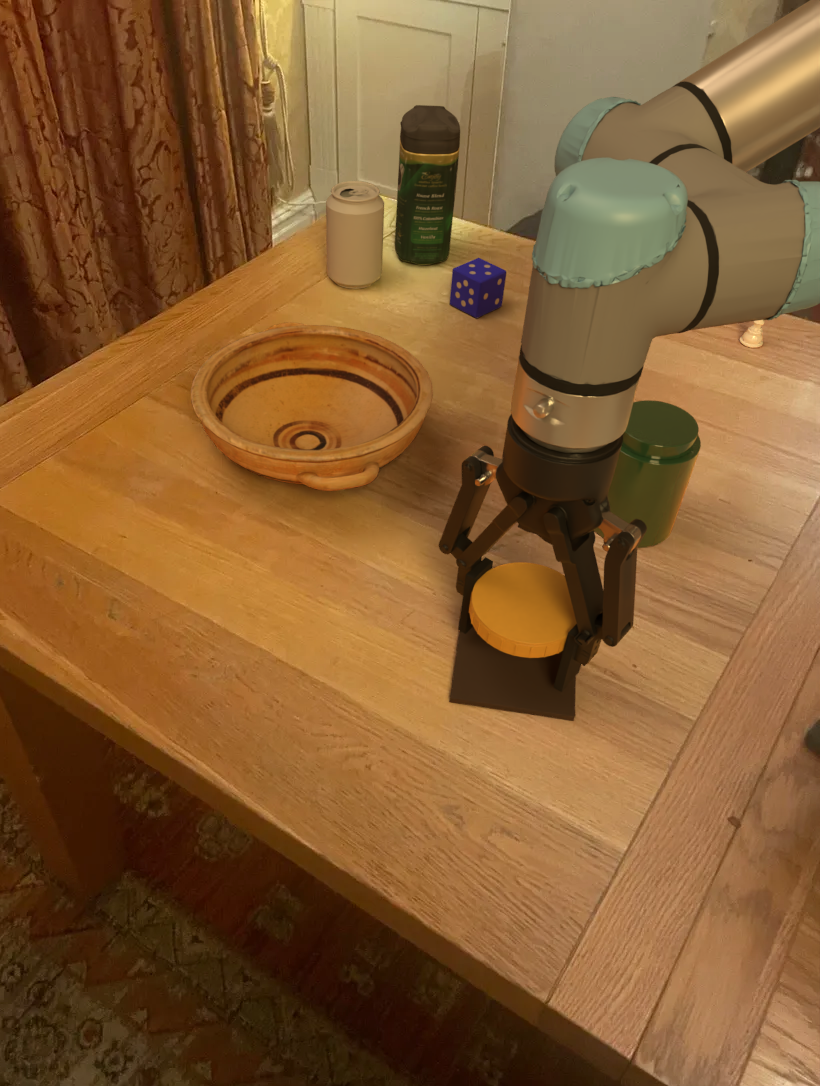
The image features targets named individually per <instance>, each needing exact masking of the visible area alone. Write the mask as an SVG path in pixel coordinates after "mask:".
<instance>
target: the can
mask: <svg viewBox="0 0 820 1086" xmlns="http://www.w3.org/2000/svg"><path fill="white" fill-rule="evenodd" d="M330 193H331V194H330V195H328V197H327V199H326V201H325V227H326V228H325V231H326V233H325V236H326V239H325V241H326V243H325V244H326V274H327V277H328V278H330V279H331V281H333V282H334V284H336V285H337V286H339V287H341V288H346V289H354V290H355V289H356V290H357V289H364V288H368V287H370V286H372V285H374V284H375V282H377V281H378V280H379V279H380V278H381V277H382V273H383V256H384V255H383V253H384V252H383V251H384V222H385V201H384V199H383V197H382V196H381V195H380V193H381V191H380V189H379V187H378V186H376V185H375V184H373V183H371V182H366V181H361V180H347V181H341V182H339V183H336V184H335V185H333V186H332V187H331V188H330Z"/></svg>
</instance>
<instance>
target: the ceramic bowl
mask: <svg viewBox="0 0 820 1086" xmlns="http://www.w3.org/2000/svg"><path fill="white" fill-rule="evenodd" d="M433 390H434V389H433V382H432V379H431V378H430V375H429V371H427V370H426V368H425V366H424V365H423V364H422V362H420V360H419V359H417V358H416V357H415V356H414V354H412V353H411V352H410V351H408V350H407V349H405V348H404V347H402V346H401V345H399V344H397V343H396V342H393V341H391V340H389V339H386V338H384V337H383V336H380V335H376V334H373V333H371V332H366V331H364V330H360V329H355V328H351V327H350V328H349V327H345V326H344V327H343V326H335V325H325V324H324V325H317V324H304V323H302V322H301V323H300V322H293V321H292V322H291V321H290V322H289V321H288V322H287V321H286V322H285V321H284V322H281V323H276V324H274V325H271V326H269V327H267V328H266V329H265V330H263V331H258V332H256V333H252V334H249V335H246V336H244V337H241V338H238V339H236V340H234V341H233V342H230V343H228V344H227V345H224V346H223V347H221V348H220V349H218V350H217V351H216V352H214V353H213V354H212V355H211V356H209V357H208V358H207V359H206V361H205V362H203V363H202V365H201V366H200V367H199V369H198V371H197V372H196V374H195V376H194V378H193V380H192V384H191V388H190V400H191V404H192V407H193V409H194V412H195V414H196V417H197V418H198V419H199V420H200V421H199V422H200V423H201V425H202V427H203V430H204V431H205V433H206V435H207V436H208V438H209V439H210V440H211V441H212V443H213V444H214V445H215V446H216V448H217V449H218V451H220V453H222V454H223V455H224V456H226V457H227V458H228V459H229V460H231V462H233V463H235V464H237V465H238V466H240V467H241V468H243V469H245V470H247V471H249V472H251V473H253V474H255V475H258V476H260V477H264V478H266V479H270V480H274V481H279V482H282V483H288V484H298V485H305V486H307V487H309V488H310V489H314V490H317V491H318V490H319V491H326V492H333V491H341V490H347V489H355V488H361V487H363V486H366V485H369V484H371V483H372V482H373V481H375V480H376V479H377V477H378V476H379V472H380V469H381V468H383V467H385V466H387V465H388V464H390V463H391V462H392V461H393V460H395V459H396V458H398V457H399V456H400V455H401V454H403V452H404V451H405V450H406V449H407V448H408V447H409V446H410V445H411V444H412V442H413V441H414V440H415V438H416V437H417V435H418V433H419V432H420V429H421V428H422V425H423V423H424V421H425V419H426V416H427V414H428V412H429V411H430V408H431V406H432V401H433V397H434V391H433Z"/></svg>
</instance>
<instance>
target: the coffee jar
mask: <svg viewBox="0 0 820 1086" xmlns="http://www.w3.org/2000/svg"><path fill="white" fill-rule="evenodd" d="M460 125H461V124H460V122H459V120H458V118H457V117H456V116H455V115H454V114H453V113H452V112H451V111H449V110H448V109H446V107H445V106H443V105H428V104H427V105H425V104H422V105H421V104H416V105H413V107H412V108H411V109H409V110H408V111H406V112H405V113H404V114H403V116H402V118H401V121H400V134H399V151H398V152H399V153H398V155H399V157H398V174H397V191H396V192H397V193H396V209H395V226H394V228H395V229H394V249H395V253H396V256H397V258H399V259H400V260H401V261H403V262H408V263H411V264H415V265H417V266H430V265H434V264H438V263H442V262H443V263H444V262H445V261H446V260H447V259H448V258H449V256H450V248H451V240H452V229H453V221H454V220H453V218H454V210H455V203H456V202H455V201H456V192H457V182H458V171H459V157H460V145H461V126H460Z"/></svg>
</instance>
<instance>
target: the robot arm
mask: <svg viewBox="0 0 820 1086" xmlns="http://www.w3.org/2000/svg"><path fill="white" fill-rule="evenodd" d="M818 129H820V0H808V1H807V2H805V3H803V4H802V5H800V6H799V7H797V8H795V9H794V10H792V11H790V12H789V13H787V14H786V15H784V16H782V17H781V18H779V19H778V20H776V21H774V22H773V23H771V24H770V25H768V26H767V27H765V28H764V29H762V30H760V31H759V32H757V33H755V34H754V35H752V36H751V37H749V38H747V39H746V40H744V41H742V42H741V43H739V44H738V45H736V46H734V47H733V48H731V49H730V50H728V51H727V52H725V53H723V54H722V55H720V56H718V57H717V58H716V59H714V60H712V61H711V62H709V63H707V64H705V65H704V66H703V67H701V68H699V69H698V70H696V71H695V72H693V73H691V74H690V75H688V76H687V77H685V78H684V79H682V80H680V81H679V82H677V83H676V84H674V85H673V86H671V87H669V88H667V89H666V90H664V91H662V92H660V93H658V94H657V95H656V96H654V97H652V98H650V99H649V100H647V101H646V102H644V103H642V104H641V103H640V102H638V101H637V100H633V99H631V98H624V97H619V96H609V97H603V98H597V99H595V100H593V101H591V102H589V103H588V104H586V105H585V106H583V107H582V108H581V109H580V110H579V111H577V112H576V114H575V115H574V116H573V117H572V118H571V119H570V120H569V122H568V123H567V125H566V126H565V128H564V129H563V131H562V134H561V135H560V138H559V140H558V143H557V146H556V150H555V155H554V165H553V166H554V173H555V177H554V179H552V181H551V183H550V186H549V188H548V191H547V194H546V197H545V200H544V201H545V202H544V205H543V208H542V210H541V215H540V220H539V225H538V230H537V235H536V239H535V242H534V244H533V247H532V251H531V261H532V263H531V265H532V267H531V273H530V280H529V285H528V287H529V288H528V294H527V300H526V307H525V314H524V318H523V319H524V320H523V326H522V333H521V339H520V343H521V344H520V349H519V355H518V357H517V365H516V371H515V377H514V384H513V390H512V396H511V403H510V415H509V417H508V420H507V424H506V431H505V437H504V443H503V448H502V449H503V450H502V456H501V458H500V457H496V456H495V453H494V451H493V449H492V448H491V447H490V446H488V445H482V446H481V447H479V448H478V449H477V450H475V451H474V452H473V453H472V454H471V455H469V456H468V457H467V458H465V459H464V460H463V461H462V462H461V464H460V465H461V466H460V469H461V471H460V472H461V485H460V488H459V491H458V493H457V496H456V499H455V501H454V502H453V503H454V504H453V506H452V509H451V511H450V513H449V516H448V519H447V521H446V524H445V526H444V529H443V532H442V533H441V537H440V540H439V542H438V549H439V551H440V552H441V553H442V554H444V555H452V556H453V557H454V558H455V563H456V566H457V575H456V583H455V589H456V593H458V594H459V595H461V596H462V600H461V607H460V613H459V614H460V615H459V621H458V629H457V630H458V632H459V631H461V632H463V633H464V634H466V633H467V632H468V631H469V630H470V629H471V628H472V627H473V624H471V619H470V613H469V606H470V599H471V592H472V591H473V588H474V585H475V583H476V582H477V580H478V579H480V578H481V577H482V576H483V575H484V574H485V573H486V572H487V571H489V570H490V569H492V568H493V564H494V561H493V560H492V559H490V558H488V557H486V556H485V555H486V554H487V553H488V552H489V551H490V550H491V549H492V548H493V547H494V546H495V545H496V544H497V543H498V542H499V541H500V540H501V539H502V538H503V537H504V536H505V535H507V533H508V532H509V531H510V530H511V529H512V528H513V527H514V526H515V525H516V524H518V525H517V528H519V529H521V530H523V531H525V532H527V533H530V534H535V535H536V536H537V537H539V538H540V539H542V540H543V541H544V542H545V543H548V544H550V545H551V546H552V550H553V554H554V557H555V561H556V562H558V563H560V564H561V567H562V570H563V575H564V576H565V579H566V583H567V587H568V591H569V595H570V599H571V603H572V607H573V611H574V615H575V619H576V622H577V624H576V625H575V626H574V627H573V628H572V629H571V630H570V631H569V632H568V635H567V639H566V643H565V646H564V650H563V654H562V657H561V661H560V665H559V669H558V672H557V676H556V680H555V683H554V688H555V689H557V690H559V691H560V692H562V691H563V690H564V689H565V688H566V687H567V685H568V684H569V683H570V682H571V681H572V680H573V679H574V678H575V676H576V677H577V675H578V674H579V673H580V671H581V668H582V666H586V665H588V664H589V663H590V662H591V661H592V660H593V658H594V657H595V656H596V655H597V654H598V653H599V648H600V645H601V642H603V643H604V644H605V645H606V646H608V647H611V648H612V647H616V646H617V645H618V644H619V643H620V642H621V641H622V639H623V638H624V637H625V636H626V635H627V634H628V632H630V630H631V629H632V628H633V627H634V616H635V601H636V582H637V580H636V579H637V563H638V549H639V548H638V546H639V544H640V542H641V540H642V539H643V537H644V535H645V533H646V531H647V527H646V525H645V523H644V522H643V521H642V520H639V519H634V520H632V521H631V522H630V523H627V522H626V521H624V520H623V519H621V518H620V517H618V516H616V515H615V514H613V513H612V512H610V504H609V500H608V491H609V488H610V485H611V482H612V479H613V475H614V472H615V468H616V464H617V461H618V457H619V453H620V450H621V446H622V443H623V433H624V432H625V431H626V428H627V425H628V421H629V417H630V414H631V410H632V406H633V402H635V398H636V394H637V390H638V387H639V382H640V379H641V377H642V373H643V370H644V366H645V362H646V359H647V357H648V353H649V350H650V347H651V344H652V342H653V339H655V338H657V337H663V336H669V335H674V334H682V333H686V332H688V331H695V330H702V329H709V328H716V327H723V326H729V325H735V324H743V323H749V322H750V323H751V322H753V321H757V320H764V321H772V320H774V319H778V318H779V317H780V316H781V315H786V314H790V313H793V312H794V313H795V312H797V311H798V312H799V311H802V310H806V309H810V308H814V307H816V306H818V305H820V181H799V180H797V179H785V180H783V181H782V182H781V183H777V184H770V183H766V182H764V181H761V180H759V179H757V178H756V177H754V176H753V175H751V174H749V173H748V172H750V171H751V170H752V169H754V168H756V167H757V166H759V165H760V164H762V163H764V162H766V161H767V160H769V159H770V158H772V157H774V156H776V155H777V154H779V153H780V152H782V151H784V150H786V149H787V148H789V147H791V146H792V145H794V144H796V143H797V142H799V141H800V140H802V139H803V138H805V137H807V136H808V135H810V134H812V133H813V132H815V131H817V130H818ZM495 480H496V482H497V484H498V487H499V490H500V492H501V495H502V496H503V499H504V502H505V503H506V506H505V507H504V508H503V509H502V510H501V511H500V512H499V513H498V514H497V515H496V516H495V517H494V518H493V519H492V521H491V522H490V524H489V525H487V526H486V527H485V529H484V530H483V531H481V533H480V534H479V535H478V536H477V537H476V538H475V539H474V540H473V541H472V540H471V539H469V537H470V533H471V531H472V529H473V527H474V525H475V522H476V520H477V517H478V515H479V513H480V511H481V508H482V505H483V503H484V501H485V499H486V496H487V494H488V491H489V489H490V487H491V485H492V482H494V481H495ZM596 528H599V529H600V530H601V531H602V532H603V534H604V538H603V544H602V545H601V546H602V550H603V551H604V552H606V555H605V557H604V562H603V583H602V578H601V575H600V574H601V573H600V569H599V566H598V560H597V557H596V552H595V549H594V548H595V547H594V545H595V542H596V534H595V533H596V532H595V531H594V530H595V529H596ZM484 556H485V557H484ZM483 557H484V558H483Z"/></svg>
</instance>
